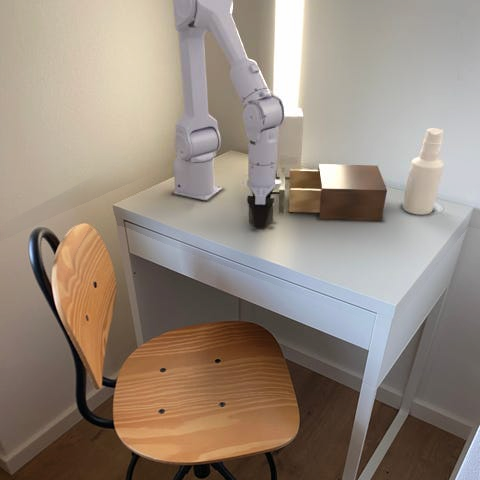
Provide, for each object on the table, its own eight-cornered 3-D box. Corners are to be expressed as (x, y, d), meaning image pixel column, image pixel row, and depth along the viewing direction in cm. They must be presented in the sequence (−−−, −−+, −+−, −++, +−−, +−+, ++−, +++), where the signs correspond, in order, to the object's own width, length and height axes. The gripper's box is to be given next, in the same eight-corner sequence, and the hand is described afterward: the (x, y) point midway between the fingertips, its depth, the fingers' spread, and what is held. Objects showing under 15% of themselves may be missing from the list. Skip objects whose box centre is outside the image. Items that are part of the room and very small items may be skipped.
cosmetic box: (300, 178, 133) (305, 116, 124) (275, 178, 133) (277, 116, 124) (297, 166, 140) (302, 107, 130) (274, 166, 140) (276, 107, 130)
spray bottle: (433, 204, 120) (452, 127, 109) (431, 217, 115) (452, 137, 104) (403, 200, 122) (419, 124, 111) (400, 212, 117) (417, 133, 106)
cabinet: (318, 219, 114) (322, 188, 110) (316, 193, 126) (318, 164, 121) (381, 221, 114) (387, 190, 109) (372, 194, 125) (377, 165, 120)
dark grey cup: (272, 230, 110) (273, 210, 107) (248, 229, 111) (248, 209, 108) (272, 219, 115) (273, 199, 112) (249, 218, 115) (249, 198, 112)
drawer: (261, 213, 115) (261, 189, 112) (263, 189, 126) (263, 166, 122) (335, 215, 114) (338, 191, 111) (331, 191, 125) (334, 168, 121)
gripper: (281, 174, 98) (278, 237, 106) (282, 149, 109) (279, 207, 118) (245, 173, 98) (244, 236, 106) (249, 148, 110) (248, 206, 118)
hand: (260, 221), depth 112 cm, fingers closed on dark grey cup, 5 cm apart
